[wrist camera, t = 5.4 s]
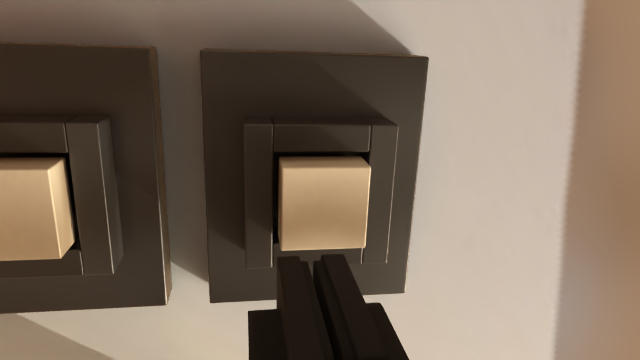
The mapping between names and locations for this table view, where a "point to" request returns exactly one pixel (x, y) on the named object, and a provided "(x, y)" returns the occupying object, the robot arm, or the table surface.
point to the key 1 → (35, 208)
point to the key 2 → (323, 202)
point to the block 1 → (90, 173)
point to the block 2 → (306, 140)
